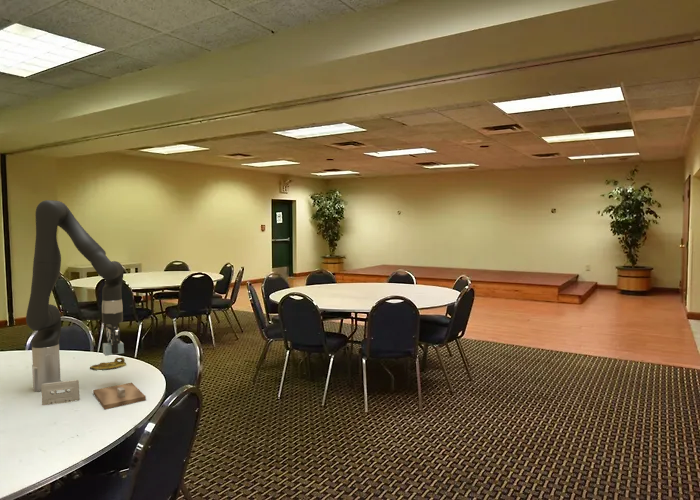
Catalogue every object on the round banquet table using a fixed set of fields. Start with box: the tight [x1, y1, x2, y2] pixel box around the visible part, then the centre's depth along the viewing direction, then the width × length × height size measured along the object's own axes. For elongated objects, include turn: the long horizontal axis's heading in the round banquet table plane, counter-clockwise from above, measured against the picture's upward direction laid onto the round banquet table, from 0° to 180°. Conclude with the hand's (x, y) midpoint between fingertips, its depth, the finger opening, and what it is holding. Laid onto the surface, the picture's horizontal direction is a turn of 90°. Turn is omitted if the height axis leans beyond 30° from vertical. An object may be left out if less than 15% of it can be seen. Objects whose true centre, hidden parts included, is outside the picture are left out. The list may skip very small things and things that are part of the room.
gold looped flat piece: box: [89, 357, 127, 371], centre depth 221 cm, size 9×5×15 cm
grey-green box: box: [102, 340, 125, 357], centre depth 196 cm, size 7×5×4 cm
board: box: [92, 382, 147, 410], centre depth 183 cm, size 14×20×4 cm
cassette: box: [41, 379, 81, 406], centre depth 178 cm, size 12×2×8 cm, turn 113°
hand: (113, 352), depth 196 cm, fingers closed on grey-green box, 4 cm apart
